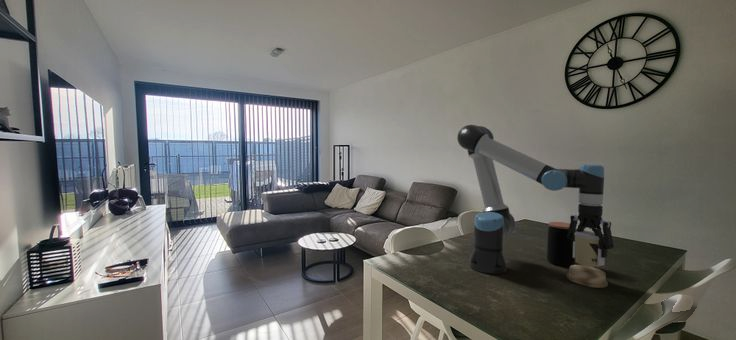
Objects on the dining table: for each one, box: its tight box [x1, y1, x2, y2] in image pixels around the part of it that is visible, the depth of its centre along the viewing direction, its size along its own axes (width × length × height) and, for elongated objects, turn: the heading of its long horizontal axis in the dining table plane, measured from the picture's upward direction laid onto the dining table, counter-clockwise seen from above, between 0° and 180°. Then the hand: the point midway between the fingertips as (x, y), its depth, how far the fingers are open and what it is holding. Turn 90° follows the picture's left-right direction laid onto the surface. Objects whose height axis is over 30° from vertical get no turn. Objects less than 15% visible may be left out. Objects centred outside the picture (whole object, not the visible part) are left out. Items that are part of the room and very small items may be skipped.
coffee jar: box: [546, 221, 577, 268], centre depth 133 cm, size 11×11×18 cm
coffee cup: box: [574, 230, 600, 268], centre depth 114 cm, size 9×9×12 cm
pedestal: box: [566, 264, 609, 289], centre depth 115 cm, size 13×13×4 cm
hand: (587, 261), depth 114 cm, fingers closed on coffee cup, 9 cm apart
